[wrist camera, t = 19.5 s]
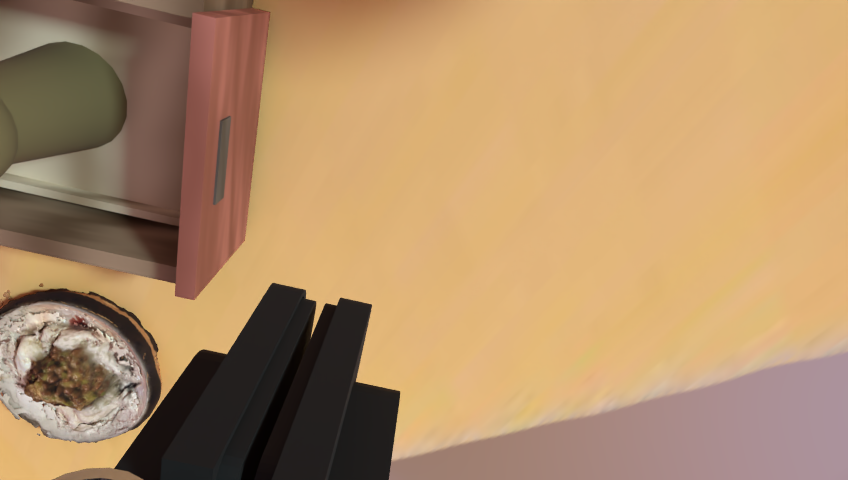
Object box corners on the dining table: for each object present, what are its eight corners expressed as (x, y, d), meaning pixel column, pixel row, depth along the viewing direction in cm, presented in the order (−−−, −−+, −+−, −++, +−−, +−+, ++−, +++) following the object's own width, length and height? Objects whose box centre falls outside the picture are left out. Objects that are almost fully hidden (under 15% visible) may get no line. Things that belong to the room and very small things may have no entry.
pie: (152, 257, 40) (121, 285, 37) (204, 431, 46) (182, 471, 42) (-49, 272, 42) (-100, 300, 38) (26, 439, 47) (-12, 479, 43)
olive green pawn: (75, 167, 35) (-77, 237, 25) (-1, 79, 34) (-198, 117, 23) (149, 113, 34) (18, 165, 24) (73, 18, 32) (-103, 31, 22)
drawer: (272, 12, 32) (218, 19, 25) (246, 240, 38) (196, 300, 31) (-19, -57, 32) (-162, -72, 24) (-3, 185, 37) (-116, 233, 30)
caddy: (253, -4, 33) (204, -2, 27) (229, 236, 39) (184, 285, 32) (-34, -72, 32) (-155, -88, 26) (-15, 182, 38) (-110, 221, 32)
